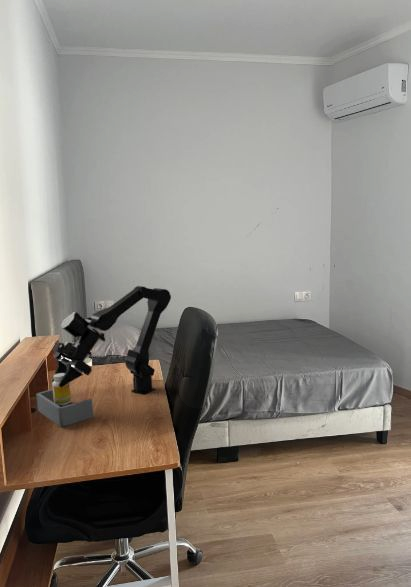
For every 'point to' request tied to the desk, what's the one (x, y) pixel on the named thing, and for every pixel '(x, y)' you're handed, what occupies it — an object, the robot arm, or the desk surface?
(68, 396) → the supplement bottle
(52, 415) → the open side box
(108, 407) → the desk surface
